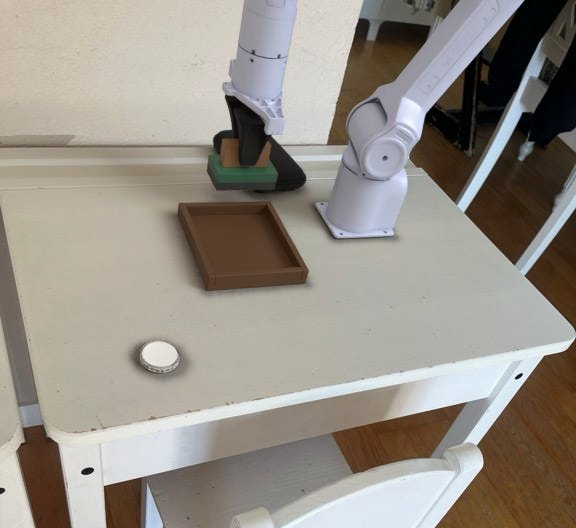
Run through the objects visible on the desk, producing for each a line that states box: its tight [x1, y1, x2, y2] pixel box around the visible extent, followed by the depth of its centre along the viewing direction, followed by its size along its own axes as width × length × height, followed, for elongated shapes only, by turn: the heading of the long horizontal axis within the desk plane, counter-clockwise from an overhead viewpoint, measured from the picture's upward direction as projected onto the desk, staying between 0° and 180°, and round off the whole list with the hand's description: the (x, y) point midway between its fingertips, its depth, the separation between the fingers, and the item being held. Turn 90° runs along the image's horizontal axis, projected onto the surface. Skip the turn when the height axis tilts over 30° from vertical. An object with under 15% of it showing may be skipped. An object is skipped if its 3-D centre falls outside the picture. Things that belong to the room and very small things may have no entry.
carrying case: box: [212, 129, 307, 195], centre depth 91 cm, size 11×3×15 cm
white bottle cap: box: [139, 339, 181, 374], centre depth 63 cm, size 4×4×1 cm
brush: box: [206, 139, 278, 192], centre depth 79 cm, size 4×8×5 cm, turn 111°
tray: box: [177, 200, 310, 292], centre depth 78 cm, size 13×15×2 cm
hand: (244, 159), depth 79 cm, fingers closed on brush
